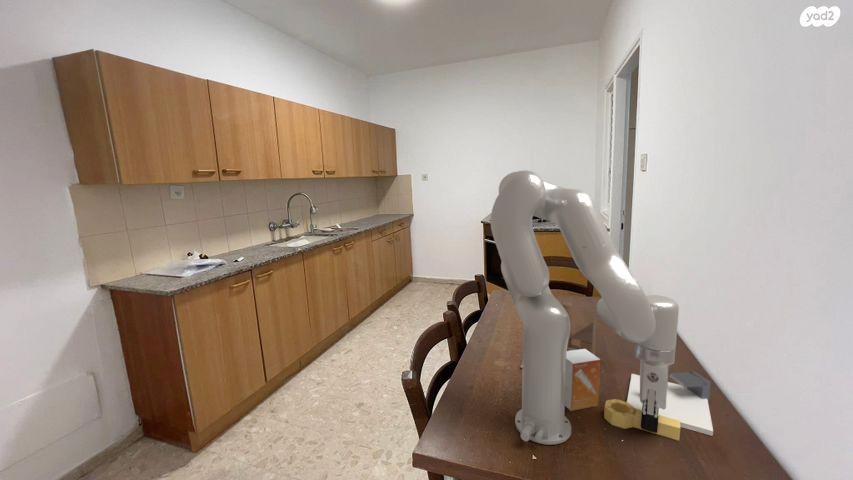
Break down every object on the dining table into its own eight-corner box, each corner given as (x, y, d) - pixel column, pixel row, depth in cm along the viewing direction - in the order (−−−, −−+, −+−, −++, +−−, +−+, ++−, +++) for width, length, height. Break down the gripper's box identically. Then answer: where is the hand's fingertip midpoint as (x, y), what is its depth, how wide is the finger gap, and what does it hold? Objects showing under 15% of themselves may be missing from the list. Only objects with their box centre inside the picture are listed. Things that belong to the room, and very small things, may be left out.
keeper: (693, 391, 96) (694, 371, 95) (708, 402, 91) (710, 381, 90) (668, 393, 96) (669, 373, 95) (682, 404, 91) (684, 383, 90)
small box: (570, 412, 89) (572, 363, 87) (556, 397, 95) (557, 351, 93) (598, 406, 91) (601, 359, 89) (582, 392, 97) (584, 347, 95)
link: (603, 422, 85) (603, 410, 85) (606, 407, 91) (607, 396, 90) (679, 445, 77) (680, 433, 77) (678, 428, 82) (679, 416, 82)
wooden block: (591, 365, 111) (594, 310, 108) (557, 355, 118) (558, 303, 115) (595, 360, 114) (597, 306, 111) (561, 351, 121) (562, 300, 118)
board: (712, 436, 80) (713, 431, 79) (625, 411, 89) (626, 406, 89) (705, 394, 94) (705, 390, 94) (631, 377, 104) (631, 373, 103)
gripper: (675, 372, 71) (669, 454, 74) (674, 340, 84) (668, 411, 87) (632, 363, 75) (627, 441, 78) (637, 334, 89) (633, 401, 92)
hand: (649, 424), depth 83 cm, fingers closed on link, 3 cm apart
